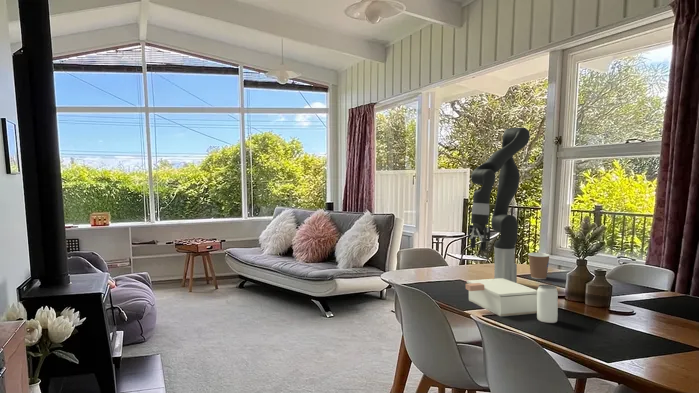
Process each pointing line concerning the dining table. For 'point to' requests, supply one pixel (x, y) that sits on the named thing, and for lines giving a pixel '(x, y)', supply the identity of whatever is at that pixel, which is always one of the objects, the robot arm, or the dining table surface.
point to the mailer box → (505, 303)
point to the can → (547, 303)
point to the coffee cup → (538, 265)
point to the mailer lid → (499, 287)
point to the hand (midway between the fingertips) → (477, 249)
